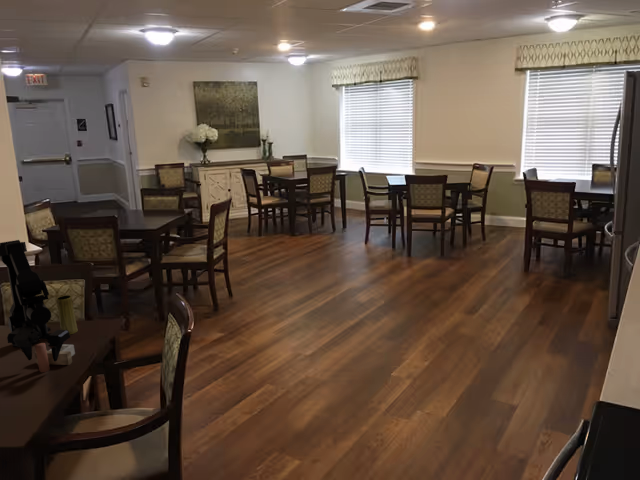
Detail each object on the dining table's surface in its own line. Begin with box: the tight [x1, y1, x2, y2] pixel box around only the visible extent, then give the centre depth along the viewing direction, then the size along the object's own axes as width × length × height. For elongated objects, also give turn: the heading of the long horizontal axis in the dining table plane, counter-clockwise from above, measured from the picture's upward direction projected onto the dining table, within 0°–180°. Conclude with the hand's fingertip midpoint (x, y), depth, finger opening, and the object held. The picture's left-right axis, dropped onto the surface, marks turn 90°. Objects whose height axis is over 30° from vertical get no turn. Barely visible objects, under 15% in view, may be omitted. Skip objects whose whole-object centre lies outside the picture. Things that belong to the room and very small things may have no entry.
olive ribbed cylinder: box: [55, 294, 79, 335], centre depth 198 cm, size 6×6×14 cm
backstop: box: [34, 350, 73, 366], centre depth 174 cm, size 12×2×4 cm, turn 81°
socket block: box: [48, 343, 76, 358], centre depth 178 cm, size 6×6×4 cm
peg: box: [34, 342, 51, 373], centre depth 168 cm, size 3×3×9 cm
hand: (42, 360), depth 169 cm, fingers open, 9 cm apart
